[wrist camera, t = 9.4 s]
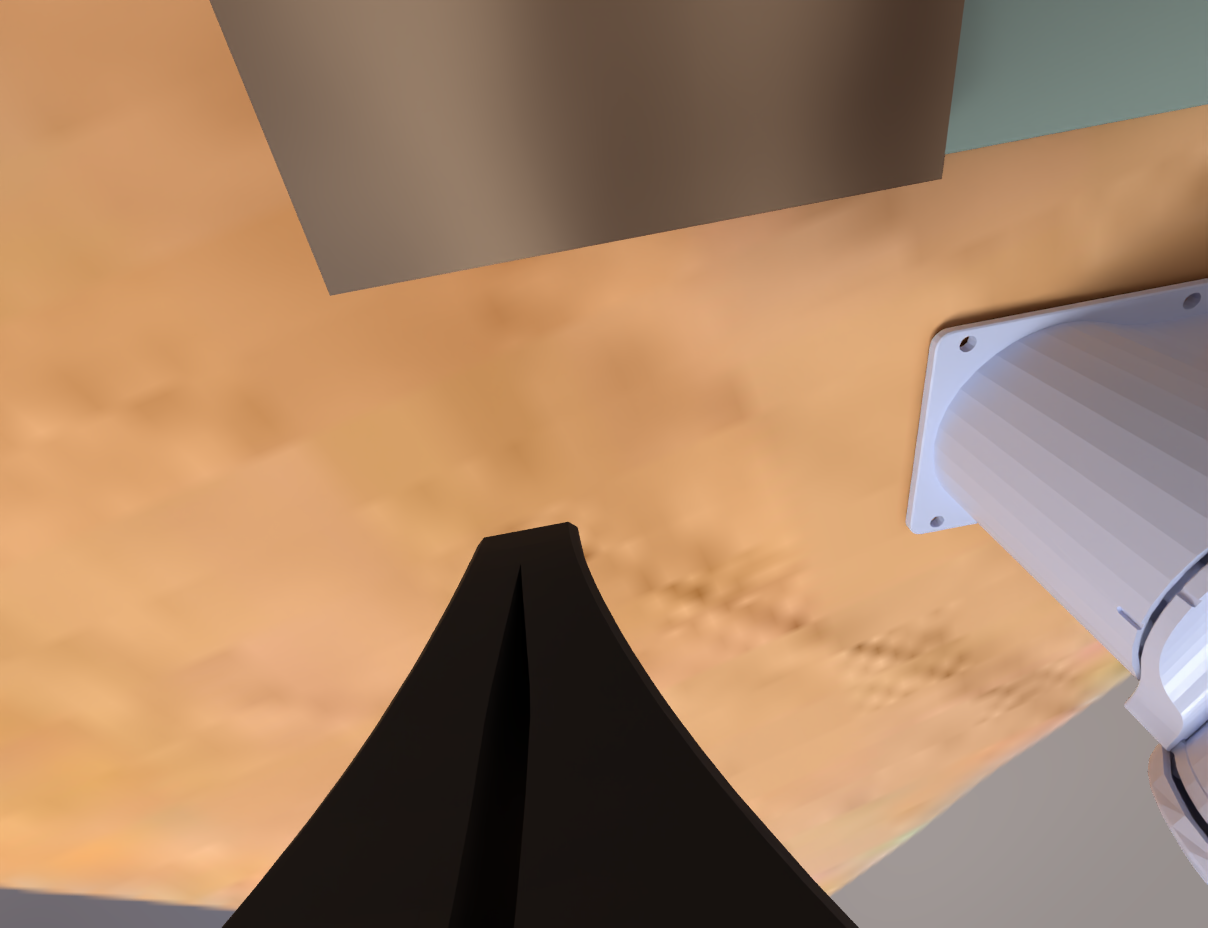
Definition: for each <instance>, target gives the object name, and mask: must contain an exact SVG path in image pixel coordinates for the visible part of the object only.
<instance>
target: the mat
mask: <svg viewBox="0 0 1208 928" xmlns="http://www.w3.org/2000/svg"><path fill="white" fill-rule="evenodd" d="M1206 104H1208V0H965V2H964V10H963V17H962V25H961V33H960V41H959V48H958V56H957V64H956V72H955V79H954V87H953V95H952V103H951V111H950V118H949V126H948V134H947V142H946V149H945V154H949V153H955V152H960V151H965V150H970V149H976V148H981V147H986V146H991V145H997V144H1002V143H1007V142H1012V141H1018V140H1023V139H1028V138H1033V137H1038V136H1044V135H1049V134H1054V133H1059V132H1065V131H1070V130H1075V129H1080V128H1086V127H1091V126H1096V125H1101V124H1107V123H1112V122H1117V121H1122V120H1128V119H1133V118H1138V117H1143V116H1148V115H1154V114H1159V113H1164V112H1169V111H1175V110H1180V109H1185V108H1190V107H1196V106H1201V105H1206Z"/></svg>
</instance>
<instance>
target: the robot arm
mask: <svg viewBox="0 0 1208 928" xmlns="http://www.w3.org/2000/svg"><path fill="white" fill-rule="evenodd" d="M1187 297H1188V298H1187ZM1186 298H1187V300H1186V301H1185V299H1186ZM1184 301H1185V302H1184ZM968 336H969V339H968V341H967V343H966V344H965V345H964V346H961V347H960V343H961V341H962V340H963V339H964V338H965V337H968ZM934 517H936V518H935V519H934V520H932V519H933V518H934ZM976 523H978V524H979V525H980V526H981V527H982V528H984V529H985V530H986V531H987V532H988V533H989V534H990V535H991V536H992V537H993V538H994V539H995V540H996V541H997V542H998V543H999V544H1000V545H1001V546H1002V547H1003V548H1004V549H1005V550H1006V551H1007V552H1008V553H1009V554H1010V555H1011V556H1012V557H1013V558H1014V559H1015V560H1016V561H1017V562H1018V563H1019V564H1020V565H1021V566H1022V567H1023V568H1024V569H1025V570H1026V571H1027V572H1028V573H1029V574H1030V575H1031V576H1033V577H1034V578H1035V579H1036V580H1037V581H1038V582H1039V583H1040V584H1041V585H1042V586H1043V587H1044V588H1045V589H1046V590H1047V591H1048V592H1049V593H1050V594H1051V595H1052V596H1053V597H1054V598H1055V599H1056V600H1057V601H1058V602H1059V603H1060V604H1061V605H1062V606H1063V607H1064V608H1065V609H1066V610H1067V611H1068V612H1069V613H1070V614H1071V615H1072V616H1073V617H1074V618H1075V619H1076V620H1077V621H1078V622H1079V623H1080V624H1082V625H1083V626H1084V627H1085V628H1086V629H1087V630H1088V631H1089V632H1090V633H1091V634H1092V635H1093V636H1094V637H1095V638H1096V639H1097V640H1098V641H1099V642H1100V643H1101V644H1102V645H1103V646H1104V647H1105V648H1106V649H1107V650H1108V651H1109V652H1110V653H1111V654H1112V655H1113V656H1114V657H1115V658H1116V659H1117V660H1118V661H1119V662H1120V663H1121V664H1122V665H1123V666H1124V667H1125V668H1126V669H1127V670H1128V671H1129V672H1131V673H1132V674H1133V675H1134V676H1135V677H1136V678H1137V679H1138V680H1139V684H1138V686H1137V688H1136V689H1135V691H1134V692H1133V694H1132V695H1131V696H1130V697H1129V699H1128V700H1127V701H1126V702H1125V705H1124V706H1125V708H1126V709H1127V710H1128V711H1129V712H1130V713H1131V714H1132V715H1133V716H1134V717H1135V718H1136V719H1137V720H1138V721H1139V722H1140V723H1141V724H1142V725H1143V726H1144V727H1145V728H1146V729H1147V731H1148V732H1149V733H1150V734H1151V735H1152V736H1153V737H1154V738H1155V739H1156V740H1157V741H1158V742H1159V744H1158V745H1157V746H1156V747H1155V749H1154V751H1153V752H1152V754H1151V756H1150V758H1149V766H1148V776H1149V781H1150V787H1151V790H1152V793H1153V795H1154V797H1155V800H1156V803H1157V806H1158V808H1159V810H1160V812H1161V814H1162V816H1163V817H1164V819H1165V821H1166V823H1167V825H1168V827H1169V828H1170V830H1171V832H1172V834H1173V835H1174V837H1175V839H1176V841H1177V842H1178V844H1179V846H1180V847H1181V849H1182V851H1183V852H1184V854H1185V855H1186V857H1187V858H1188V860H1189V861H1190V863H1191V864H1192V866H1193V867H1194V868H1195V870H1196V871H1197V872H1198V873H1199V875H1200V876H1201V877H1202V879H1203V880H1204V881H1205V882H1206V883H1207V885H1208V278H1206V279H1200V280H1195V281H1190V282H1185V283H1179V284H1174V285H1169V286H1164V287H1158V288H1153V289H1148V290H1143V291H1138V292H1132V293H1127V294H1122V295H1117V296H1111V297H1106V298H1101V299H1096V300H1090V301H1085V302H1080V303H1075V304H1070V305H1064V306H1059V307H1054V308H1049V309H1043V310H1038V311H1033V312H1028V313H1023V314H1017V315H1012V316H1007V317H1002V318H996V319H991V320H986V321H981V322H975V323H970V324H965V325H960V326H955V327H949V328H946V329H943V330H941V331H940V332H938V333H937V334H936V335H935V336H934V338H933V339H932V341H931V344H930V348H929V356H928V363H927V370H926V377H925V385H924V392H923V399H922V406H921V414H920V421H919V428H918V435H917V443H916V450H915V457H914V465H913V472H912V479H911V486H910V494H909V501H908V508H907V515H906V525H907V526H908V528H909V529H910V530H911V531H912V532H913V533H915V534H923V533H929V532H934V531H939V530H944V529H950V528H955V527H960V526H965V525H970V524H976ZM222 928H858V926H857V925H856V924H855V923H854V922H853V921H852V920H851V919H850V918H849V917H848V916H847V915H846V914H845V913H844V912H843V911H842V910H841V909H840V907H839V906H838V905H837V904H836V903H835V902H834V901H833V900H832V899H831V898H830V897H829V896H828V895H827V894H826V893H825V892H824V891H823V890H822V888H821V887H820V886H819V885H818V884H817V883H816V882H815V881H814V880H813V879H812V878H811V877H810V875H809V874H808V873H807V872H806V871H805V870H804V869H803V868H802V866H801V865H800V864H799V863H798V862H797V861H796V860H795V858H794V857H793V856H792V855H791V854H790V853H789V852H788V851H787V849H786V848H785V847H784V846H783V845H782V844H781V843H780V841H779V840H778V839H777V838H776V837H775V836H774V835H773V833H772V832H771V831H770V830H769V829H768V828H767V827H766V826H765V824H764V823H763V822H762V821H761V820H760V819H759V818H758V816H757V815H756V814H755V813H754V812H753V811H752V810H751V809H750V807H749V806H748V805H747V804H746V803H745V802H744V801H743V799H742V798H741V797H740V796H739V795H738V794H737V792H736V791H735V790H734V789H733V788H732V786H731V785H730V784H729V783H728V781H727V780H726V779H725V778H724V776H723V775H722V774H721V773H720V771H719V770H718V769H717V768H716V766H715V765H714V764H713V763H712V761H711V760H710V759H709V758H708V756H707V755H706V754H705V753H704V751H703V750H702V749H701V748H700V746H699V745H698V744H697V742H696V741H695V740H694V738H693V737H692V736H691V734H690V733H689V732H688V730H687V729H686V728H685V727H684V725H683V724H682V723H681V721H680V720H679V719H678V717H677V716H676V714H675V713H674V712H673V710H672V709H671V708H670V706H669V705H668V703H667V702H666V701H665V699H664V698H663V696H662V695H661V693H660V692H659V690H658V689H657V688H656V686H655V685H654V683H653V682H652V680H651V679H650V677H649V676H648V674H647V672H646V671H645V669H644V668H643V666H642V665H641V663H640V662H639V660H638V659H637V657H636V656H635V654H634V652H633V651H632V649H631V648H630V646H629V644H628V643H627V641H626V639H625V638H624V636H623V634H622V633H621V631H620V629H619V627H618V625H617V624H616V622H615V620H614V618H613V616H612V615H611V613H610V611H609V609H608V607H607V606H606V604H605V602H604V600H603V598H602V596H601V594H600V592H599V590H598V588H597V586H596V584H595V582H594V579H593V577H592V575H591V572H590V570H589V568H588V566H587V563H586V560H585V558H584V554H583V549H582V545H581V541H580V536H579V532H578V527H576V526H575V525H573V524H571V523H569V522H565V523H560V524H554V525H549V526H544V527H538V528H533V529H528V530H522V531H517V532H512V533H506V534H501V535H496V536H490V537H485V538H483V540H482V541H481V542H480V544H479V545H478V547H477V549H476V551H475V553H474V555H473V557H472V559H471V561H470V563H469V565H468V567H467V569H466V571H465V573H464V575H463V577H462V579H461V581H460V583H459V585H458V587H457V589H456V591H455V593H454V595H453V597H452V599H451V601H450V603H449V605H448V606H447V608H446V610H445V612H444V614H443V616H442V618H441V619H440V621H439V623H438V625H437V626H436V628H435V630H434V632H433V633H432V635H431V637H430V639H429V641H428V642H427V644H426V646H425V648H424V649H423V651H422V653H421V655H420V657H419V658H418V660H417V662H416V663H415V665H414V667H413V668H412V670H411V672H410V673H409V675H408V677H407V678H406V680H405V681H404V683H403V684H402V686H401V688H400V689H399V691H398V692H397V694H396V695H395V697H394V699H393V700H392V702H391V703H390V705H389V707H388V708H387V710H386V711H385V713H384V714H383V716H382V718H381V719H380V721H379V722H378V724H377V725H376V727H375V729H374V730H373V732H372V733H371V735H370V736H369V737H368V739H367V740H366V742H365V743H364V745H363V746H362V748H361V749H360V751H359V752H358V753H357V755H356V756H355V758H354V759H353V761H352V762H351V764H350V765H349V766H348V768H347V769H346V771H345V772H344V773H343V775H342V776H341V778H340V779H339V780H338V782H337V783H336V784H335V786H334V787H333V788H332V790H331V791H330V792H329V794H328V795H327V797H326V798H325V799H324V801H323V802H322V803H321V805H320V806H319V807H318V809H317V810H316V811H315V813H314V814H313V815H312V817H311V818H310V819H309V821H308V822H307V823H306V825H305V826H304V827H303V828H302V830H301V831H300V832H299V833H298V835H297V836H296V837H295V838H294V840H293V841H292V842H291V843H290V845H289V846H288V847H287V848H286V850H285V851H284V852H283V853H282V855H281V856H280V857H279V858H278V860H277V861H276V862H275V863H274V865H273V866H272V867H271V868H270V870H269V871H268V872H267V873H266V875H265V876H264V877H263V879H262V880H261V881H260V882H259V884H258V885H257V886H256V887H255V889H254V890H253V891H252V892H251V893H250V895H249V896H248V897H247V898H246V899H245V900H244V902H243V903H242V904H241V905H240V906H239V908H238V909H237V910H236V911H235V913H234V914H233V915H232V916H231V917H230V918H229V920H228V921H227V922H226V923H225V924H224V925H223V927H222Z"/></svg>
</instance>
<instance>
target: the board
mask: <svg viewBox="0 0 1208 928" xmlns="http://www.w3.org/2000/svg"><path fill="white" fill-rule="evenodd" d="M210 2H211V5H212V7H213V10H214V12H215V15H216V17H217V20H218V22H219V25H220V27H221V29H222V32H223V34H224V37H225V39H226V42H227V44H228V47H229V49H230V51H231V54H232V56H233V59H234V61H235V64H236V66H237V69H238V71H239V74H240V76H241V78H242V81H243V83H244V86H245V88H246V91H247V93H248V96H249V98H250V100H251V103H252V105H253V108H254V110H255V113H256V115H257V118H258V120H259V122H260V125H261V127H262V130H263V132H264V135H265V137H266V140H267V142H268V145H269V147H270V149H271V152H272V154H273V157H274V159H275V162H276V164H277V167H278V169H279V171H280V174H281V176H282V179H283V181H284V184H285V186H286V189H287V191H288V194H289V196H290V198H291V201H292V203H293V206H294V208H295V211H296V213H297V216H298V218H299V220H300V223H301V225H302V228H303V230H304V233H305V235H306V238H307V240H308V243H309V245H310V247H311V250H312V252H313V255H314V257H315V260H316V262H317V265H318V267H319V269H320V272H321V274H322V277H323V279H324V282H325V284H326V287H327V289H328V291H329V294H330V296H331V295H336V294H341V293H346V292H351V291H357V290H362V289H367V288H372V287H378V286H383V285H388V284H393V283H399V282H404V281H409V280H414V279H420V278H425V277H430V276H435V275H440V274H446V273H451V272H456V271H461V270H467V269H472V268H477V267H482V266H488V265H493V264H498V263H503V262H509V261H514V260H519V259H524V258H530V257H535V256H540V255H545V254H550V253H556V252H561V251H566V250H571V249H577V248H582V247H587V246H592V245H598V244H603V243H608V242H613V241H619V240H624V239H629V238H634V237H639V236H645V235H650V234H655V233H660V232H666V231H671V230H676V229H681V228H687V227H692V226H697V225H702V224H708V223H713V222H718V221H723V220H728V219H734V218H739V217H744V216H749V215H755V214H760V213H765V212H770V211H776V210H781V209H786V208H791V207H797V206H802V205H807V204H812V203H817V202H823V201H828V200H833V199H838V198H844V197H849V196H854V195H859V194H865V193H870V192H875V191H880V190H886V189H891V188H896V187H901V186H907V185H912V184H917V183H922V182H927V181H933V180H938V179H942V173H943V165H944V157H945V149H946V142H947V134H948V126H949V118H950V111H951V103H952V95H953V87H954V79H955V72H956V64H957V56H958V48H959V41H960V33H961V25H962V17H963V10H964V2H965V0H210Z"/></svg>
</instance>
